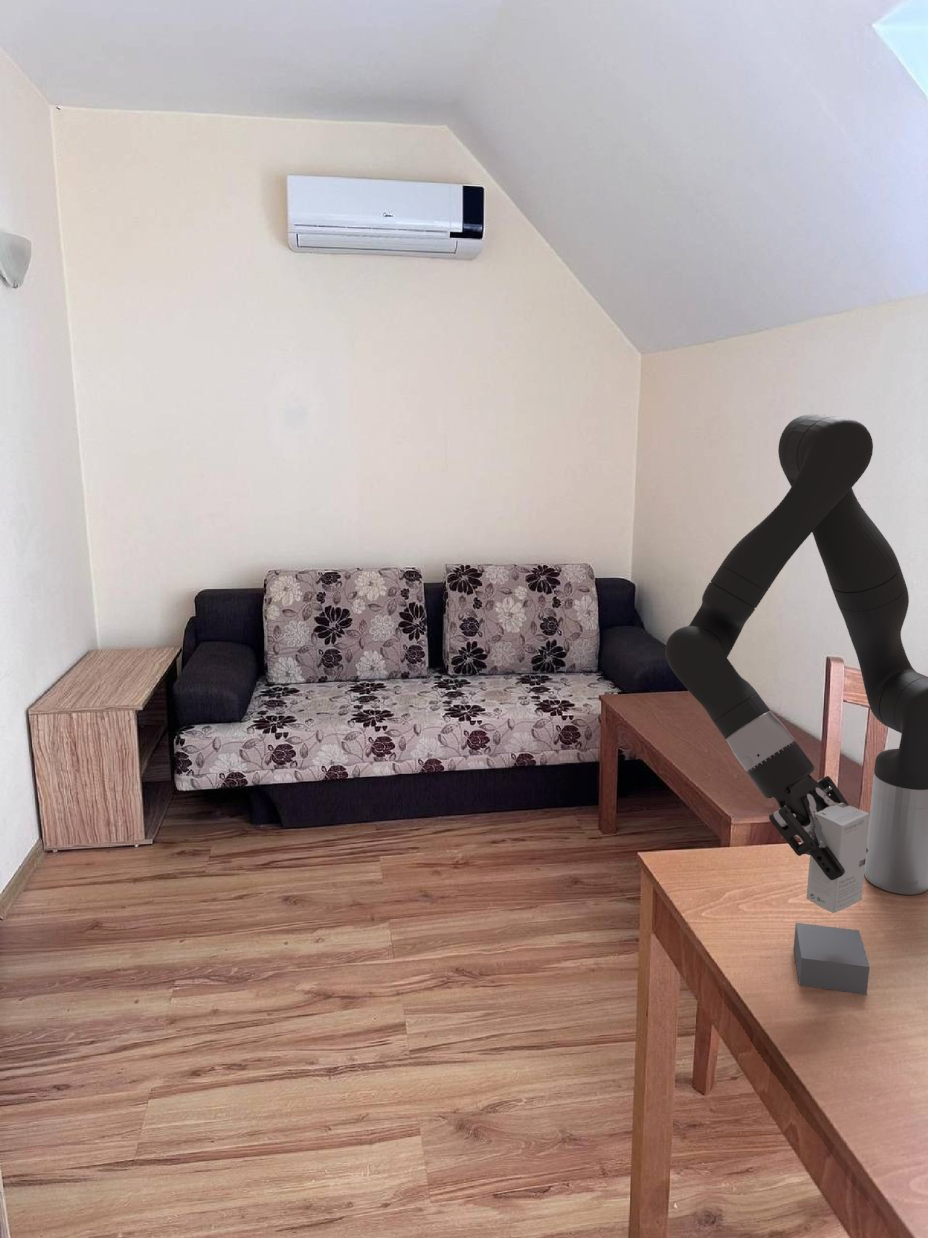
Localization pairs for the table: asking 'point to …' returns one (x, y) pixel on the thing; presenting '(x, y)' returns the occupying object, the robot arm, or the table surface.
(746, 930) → the table surface
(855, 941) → the charcoal plinth
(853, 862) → the skincare box
